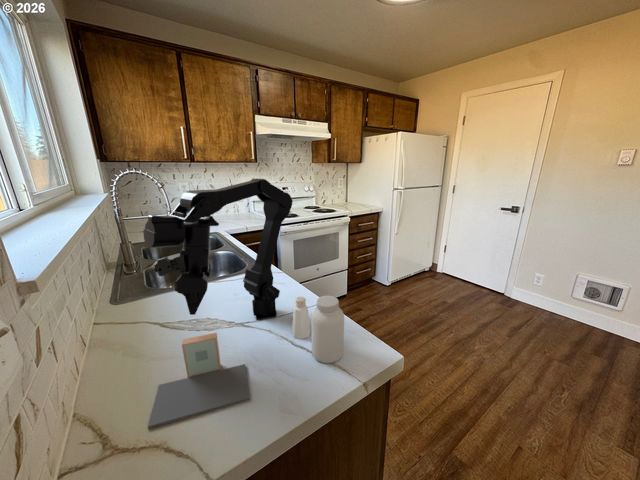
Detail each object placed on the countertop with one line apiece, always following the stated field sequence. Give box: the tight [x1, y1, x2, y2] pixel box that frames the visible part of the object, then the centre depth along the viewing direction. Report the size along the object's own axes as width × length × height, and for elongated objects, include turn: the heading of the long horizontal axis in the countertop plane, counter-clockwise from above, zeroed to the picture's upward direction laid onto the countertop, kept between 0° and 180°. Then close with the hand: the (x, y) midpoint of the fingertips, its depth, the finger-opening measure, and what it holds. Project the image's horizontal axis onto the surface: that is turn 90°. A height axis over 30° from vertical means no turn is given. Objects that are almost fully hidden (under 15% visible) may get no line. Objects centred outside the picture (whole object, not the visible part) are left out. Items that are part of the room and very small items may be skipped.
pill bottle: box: [310, 295, 345, 364], centre depth 65 cm, size 8×8×15 cm
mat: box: [147, 363, 250, 430], centre depth 56 cm, size 18×10×1 cm, turn 110°
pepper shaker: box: [291, 296, 312, 340], centre depth 74 cm, size 5×5×11 cm
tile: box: [181, 332, 222, 378], centre depth 61 cm, size 7×2×9 cm, turn 110°
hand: (194, 306), depth 66 cm, fingers open, 9 cm apart
